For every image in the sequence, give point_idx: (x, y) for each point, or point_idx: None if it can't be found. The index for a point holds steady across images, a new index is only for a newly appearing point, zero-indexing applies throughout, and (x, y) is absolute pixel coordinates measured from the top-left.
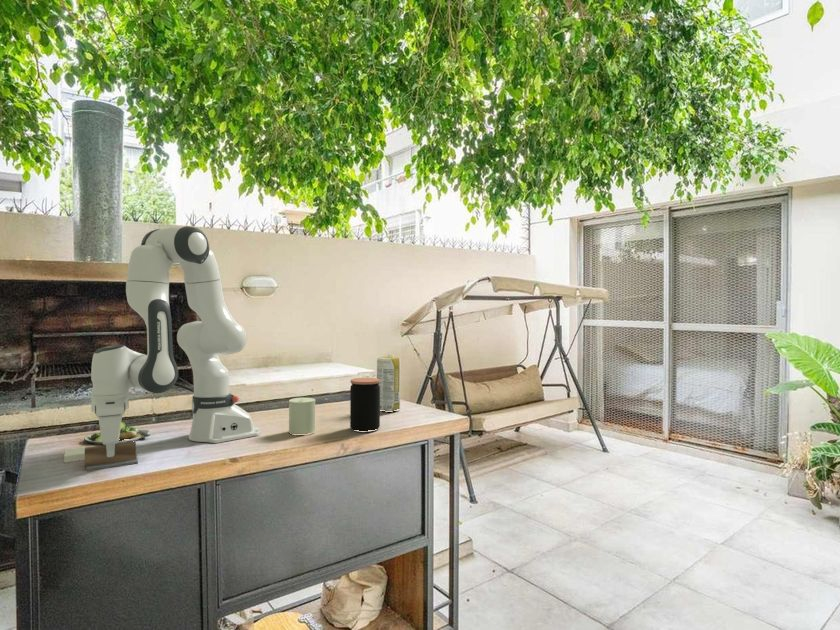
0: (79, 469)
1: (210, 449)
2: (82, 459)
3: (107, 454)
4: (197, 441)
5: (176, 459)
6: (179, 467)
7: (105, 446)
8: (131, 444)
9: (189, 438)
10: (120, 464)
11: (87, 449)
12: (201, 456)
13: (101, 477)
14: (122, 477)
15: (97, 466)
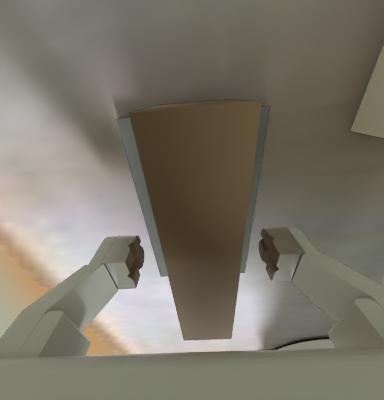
0: (164, 72)
1: (212, 351)
2: (381, 61)
3: (103, 247)
4: (287, 346)
5: (164, 321)
6: (96, 323)
7: (197, 257)
8: (182, 331)
9: (323, 342)
10: (151, 238)
11: (146, 142)
12: (167, 343)
13: (14, 190)
14: (17, 244)
15: (140, 169)
